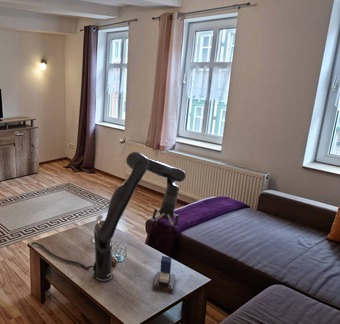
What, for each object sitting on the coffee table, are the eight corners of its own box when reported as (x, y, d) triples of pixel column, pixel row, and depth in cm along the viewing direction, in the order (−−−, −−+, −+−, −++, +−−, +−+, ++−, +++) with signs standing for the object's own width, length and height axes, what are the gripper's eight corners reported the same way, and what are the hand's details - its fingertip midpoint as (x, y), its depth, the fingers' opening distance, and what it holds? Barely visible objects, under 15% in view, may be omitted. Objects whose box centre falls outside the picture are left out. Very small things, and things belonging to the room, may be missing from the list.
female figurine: (103, 250, 216) (103, 222, 210) (88, 240, 228) (87, 214, 222) (115, 244, 222) (116, 217, 217) (100, 235, 234) (100, 209, 229)
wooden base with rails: (153, 290, 177) (153, 283, 176) (156, 276, 189) (156, 269, 188) (172, 293, 174) (172, 286, 173) (174, 279, 186) (175, 272, 185)
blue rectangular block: (161, 273, 186) (162, 255, 183) (170, 274, 185) (171, 257, 182) (158, 284, 176) (159, 266, 173) (168, 286, 175) (169, 268, 172)
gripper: (156, 199, 190) (149, 226, 191) (181, 206, 186) (174, 234, 188) (157, 198, 197) (151, 224, 199) (181, 204, 194) (174, 231, 195)
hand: (162, 228), depth 193 cm, fingers open, 8 cm apart
